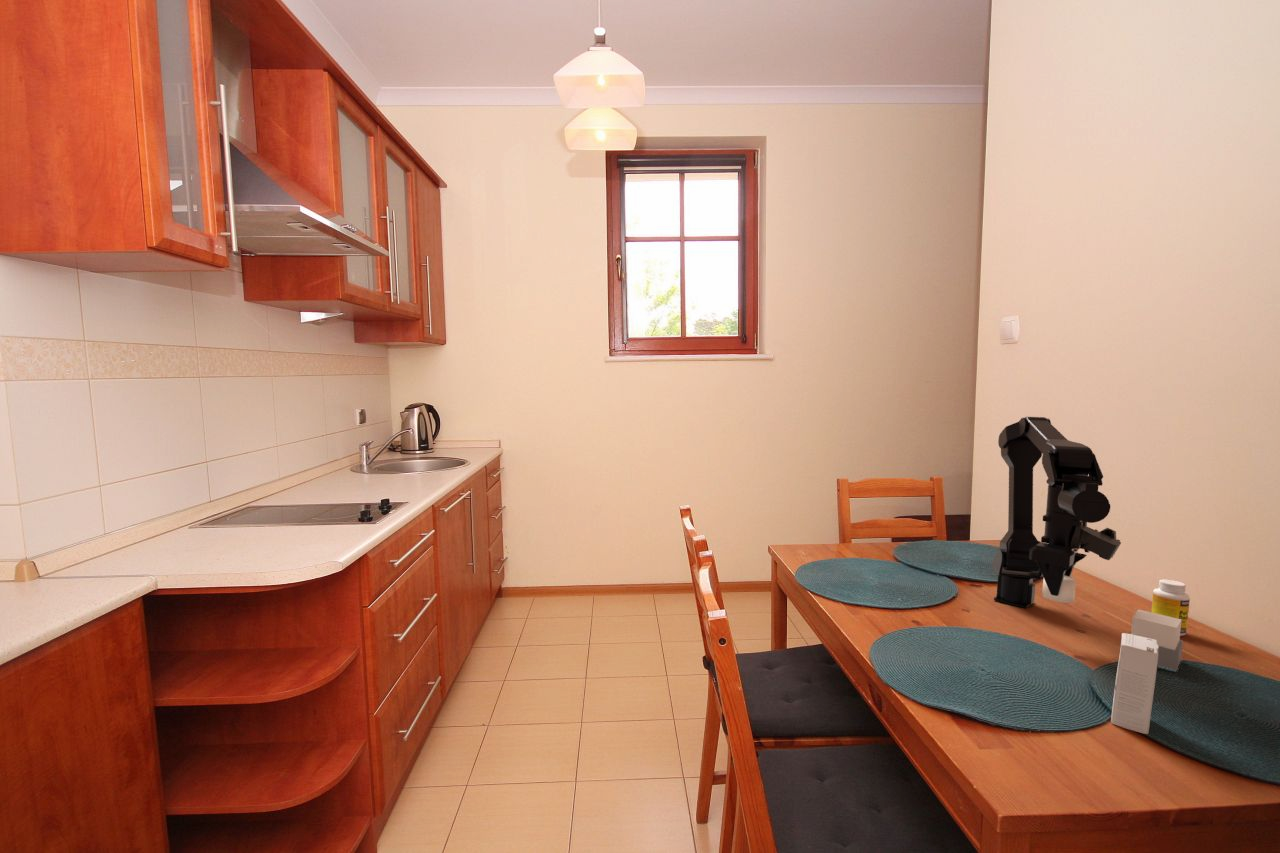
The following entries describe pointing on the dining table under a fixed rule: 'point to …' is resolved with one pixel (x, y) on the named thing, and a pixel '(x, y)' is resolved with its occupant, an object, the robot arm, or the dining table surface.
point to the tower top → (1157, 628)
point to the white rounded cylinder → (1061, 590)
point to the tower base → (1170, 656)
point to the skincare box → (1135, 683)
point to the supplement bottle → (1172, 601)
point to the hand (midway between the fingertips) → (1058, 592)
